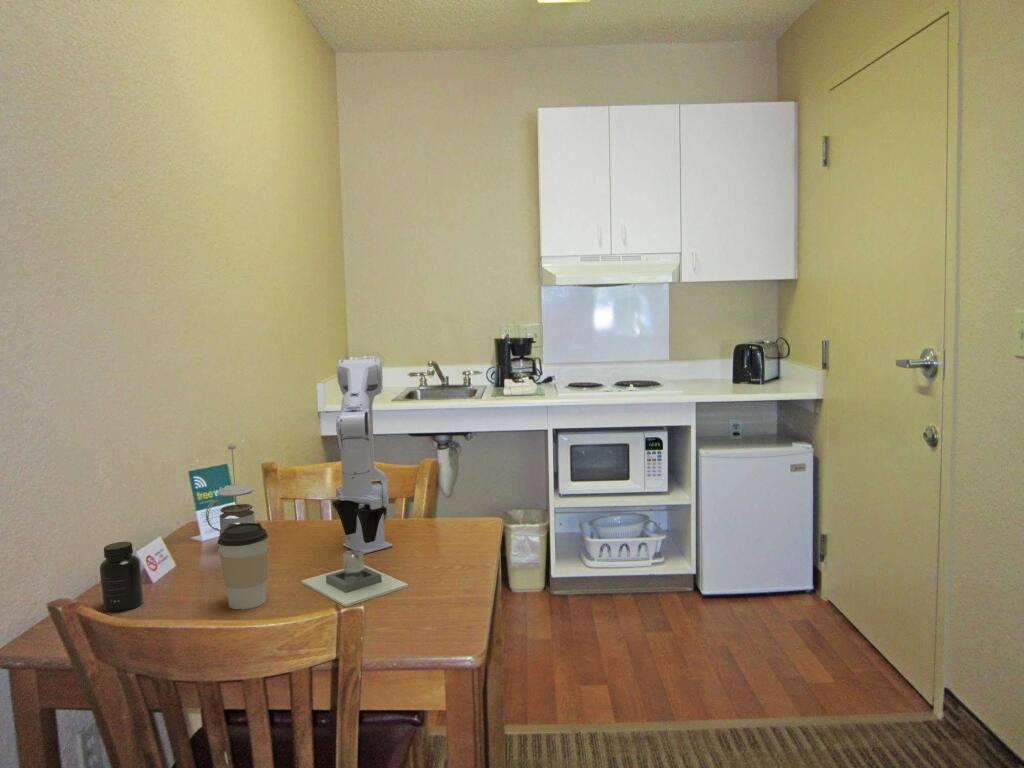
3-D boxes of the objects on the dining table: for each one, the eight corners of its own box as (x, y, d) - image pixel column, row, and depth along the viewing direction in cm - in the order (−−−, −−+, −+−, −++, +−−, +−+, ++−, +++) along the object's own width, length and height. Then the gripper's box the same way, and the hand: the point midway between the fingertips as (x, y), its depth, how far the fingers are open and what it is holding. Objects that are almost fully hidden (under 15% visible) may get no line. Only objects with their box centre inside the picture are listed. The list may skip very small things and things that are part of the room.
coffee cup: (223, 615, 137) (217, 535, 135) (221, 598, 145) (215, 523, 144) (274, 606, 140) (269, 528, 139) (269, 590, 149) (264, 516, 147)
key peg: (340, 582, 150) (338, 553, 150) (357, 577, 153) (356, 548, 152) (351, 587, 147) (349, 557, 147) (368, 581, 150) (367, 552, 149)
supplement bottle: (113, 600, 146) (107, 540, 145) (149, 597, 147) (144, 538, 145) (96, 614, 139) (91, 551, 138) (134, 611, 140) (129, 549, 139)
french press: (266, 548, 176) (258, 443, 173) (214, 559, 169) (205, 450, 167) (254, 538, 184) (248, 438, 181) (205, 548, 177) (197, 444, 175)
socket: (301, 582, 152) (300, 573, 152) (361, 565, 161) (360, 556, 161) (345, 607, 139) (344, 596, 138) (408, 586, 148) (407, 576, 148)
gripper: (320, 469, 152) (324, 534, 153) (357, 480, 141) (360, 550, 142) (351, 464, 156) (355, 527, 158) (389, 473, 145) (392, 541, 147)
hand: (360, 537), depth 150 cm, fingers open, 7 cm apart
